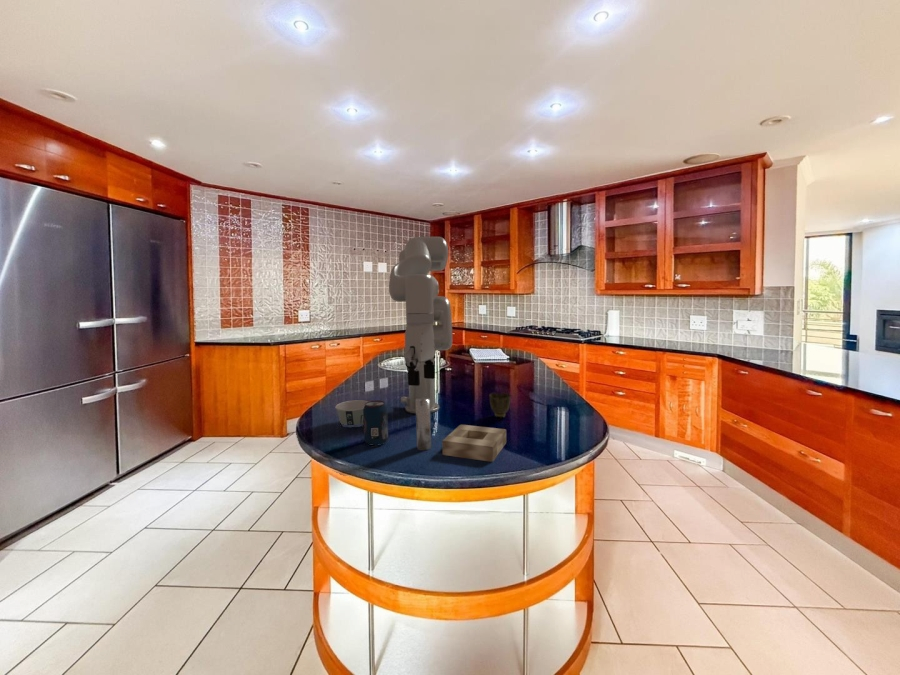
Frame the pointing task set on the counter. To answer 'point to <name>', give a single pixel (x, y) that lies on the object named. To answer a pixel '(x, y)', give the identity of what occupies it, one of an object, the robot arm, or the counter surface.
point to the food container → (351, 412)
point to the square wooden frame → (474, 442)
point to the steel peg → (423, 423)
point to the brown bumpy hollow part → (499, 403)
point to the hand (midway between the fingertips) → (422, 381)
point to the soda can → (375, 422)
